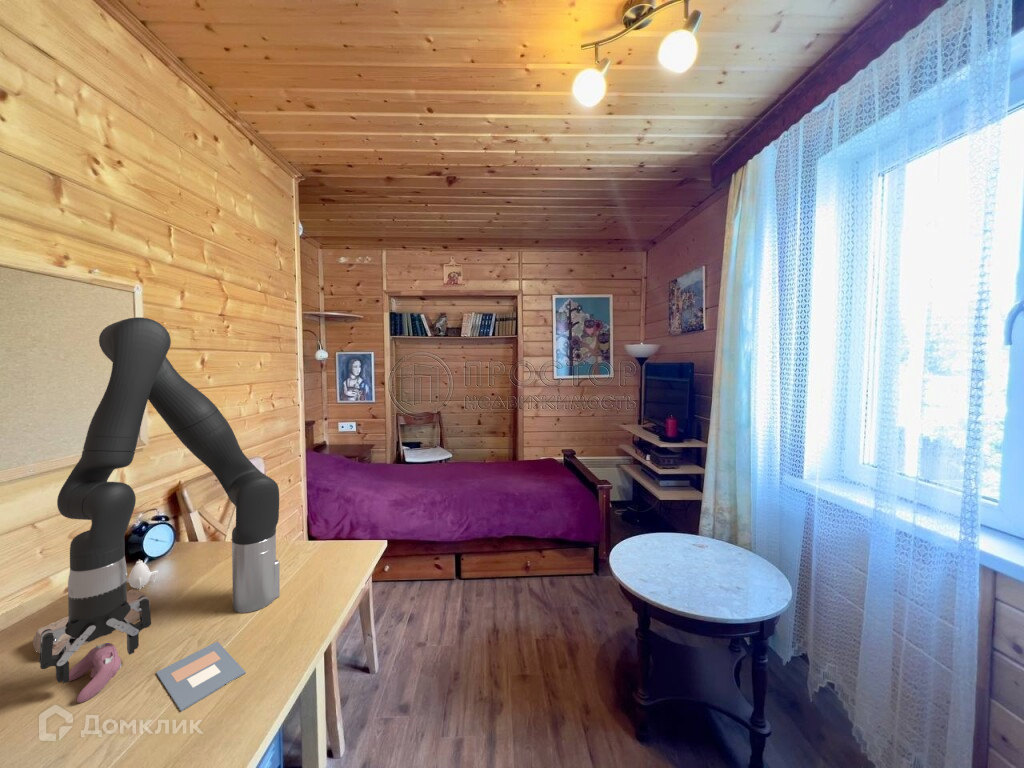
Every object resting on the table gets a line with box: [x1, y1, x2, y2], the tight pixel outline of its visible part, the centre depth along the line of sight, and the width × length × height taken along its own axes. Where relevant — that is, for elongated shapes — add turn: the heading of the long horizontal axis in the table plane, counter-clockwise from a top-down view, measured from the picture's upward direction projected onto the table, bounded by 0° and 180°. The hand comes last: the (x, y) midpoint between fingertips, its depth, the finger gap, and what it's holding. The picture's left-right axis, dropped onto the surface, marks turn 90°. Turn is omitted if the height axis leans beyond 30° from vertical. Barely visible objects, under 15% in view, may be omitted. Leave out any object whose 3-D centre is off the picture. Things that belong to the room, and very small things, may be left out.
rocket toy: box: [127, 560, 160, 591], centre depth 100 cm, size 5×5×8 cm
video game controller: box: [69, 642, 122, 704], centre depth 71 cm, size 10×5×7 cm, turn 58°
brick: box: [32, 588, 152, 655], centre depth 84 cm, size 17×8×5 cm, turn 157°
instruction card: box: [155, 641, 246, 712], centre depth 74 cm, size 10×14×1 cm
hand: (99, 665), depth 72 cm, fingers open, 8 cm apart
